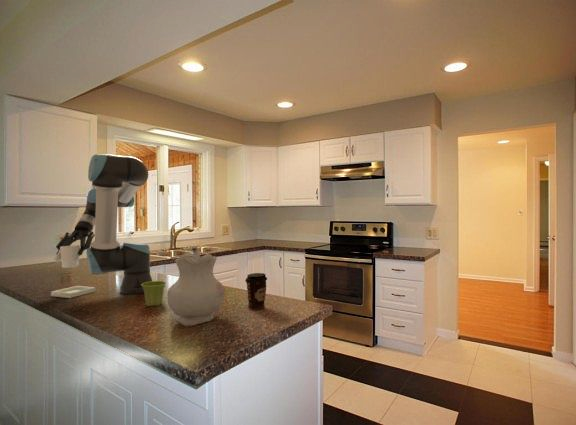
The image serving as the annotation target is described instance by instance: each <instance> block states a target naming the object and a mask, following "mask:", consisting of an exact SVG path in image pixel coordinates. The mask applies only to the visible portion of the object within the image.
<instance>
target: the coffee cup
mask: <svg viewBox="0 0 576 425" xmlns="http://www.w3.org/2000/svg"><path fill="white" fill-rule="evenodd" d="M267 280H268V277H267V276H266V273H263V272H262V273H261V272H254V273H249V274H247V277H246V278H245V280H244V281H245V283H246V289H247V300H248V306H247V307H248V309H249V310H252V311H258V310H262V309H264V308H265V301H266V295H267V294H266V292H267Z"/></svg>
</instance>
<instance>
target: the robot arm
mask: <svg viewBox="0 0 576 425" xmlns="http://www.w3.org/2000/svg"><path fill="white" fill-rule="evenodd" d="M87 173H88V174H87V179H88V181H89V182H92V184H91V185H92V187H94V188H91V189H90V190H89V191H88V193H87V196H86V204H85V209H84V211H83V213H82V214H81V217H80V218H79V220H78V222H77V223H76V225H75V226H74V230H73V231H72V232H70V233H69V232H65V234H64V236H63V237H62V239H61V240H60V241H59V242H58V244H57V245H56V249H57V252H56V255H55V257H54V260H55V262H56V263H60V261H61V254H60V247H61V246H72V245H73V243H76V241H79V242H80V245H79V246H80V248H78V249H77V251H76V252H75V254H74V256H73V258H72V259H73V260H74V261H75V262H77V260H78V258H79V259H80V256H82V255H83V253H84V251H85V250H86V259H87V264H88V268H89V271H90V273H92V274H106V273H113V272H121V271H123V277H122V282H121V284H120V287H119V292H120V293H121V294H124V295H134V294H135V295H137V294H144V290H143V287H142V286H141V284H143V283H146V282H151V281H153V277H152V276H151V257H150V256H151V252H150V251H151V250H150V246H149V245H148V243H141V242H123V243H122V245H120V244H121V243H120V242H119V241H118V240H117V232H118V231H117V228H118V209H119V208H132V207H133V206H134V204H135V195H136V193H137V191H138V190H139V189H140V187H141V186H143V185H145V184H146V183H147V181H148V179H149V170H148V168H147V166H146V164H145V162H143V161H142V160H140V159H138V158H137V157H134V156H129V155H128V156H126V155H116V154H107V153H105V154H104V153H102V154H100V153H98V154H96V153H95V154H93V155H92V156H91V159H90V160H89V166H88V172H87ZM93 229H94V231H93ZM93 239H94V240H93Z"/></svg>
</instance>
